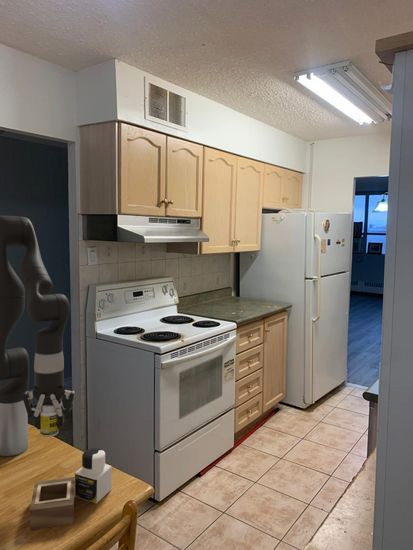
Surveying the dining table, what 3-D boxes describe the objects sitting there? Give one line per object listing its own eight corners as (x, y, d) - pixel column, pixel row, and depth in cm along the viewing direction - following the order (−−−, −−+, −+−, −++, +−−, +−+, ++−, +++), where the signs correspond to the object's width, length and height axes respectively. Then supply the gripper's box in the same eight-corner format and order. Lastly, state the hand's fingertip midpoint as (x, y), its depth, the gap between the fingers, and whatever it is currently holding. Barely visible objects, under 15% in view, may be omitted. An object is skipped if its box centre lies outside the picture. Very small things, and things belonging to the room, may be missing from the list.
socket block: (35, 499, 114) (35, 480, 113) (74, 494, 117) (74, 476, 116) (29, 529, 102) (29, 509, 102) (73, 523, 105) (73, 503, 104)
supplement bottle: (50, 439, 114) (50, 408, 113) (36, 435, 116) (36, 405, 115) (62, 431, 119) (62, 402, 118) (48, 428, 120) (48, 399, 120)
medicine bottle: (74, 497, 115) (74, 455, 114) (90, 483, 122) (91, 443, 121) (96, 504, 113) (96, 461, 111) (111, 489, 119) (112, 448, 118)
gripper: (78, 363, 120) (78, 421, 122) (25, 363, 118) (26, 422, 120) (73, 372, 113) (73, 433, 114) (17, 372, 111) (17, 435, 113)
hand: (49, 427), depth 117 cm, fingers closed on supplement bottle, 4 cm apart
